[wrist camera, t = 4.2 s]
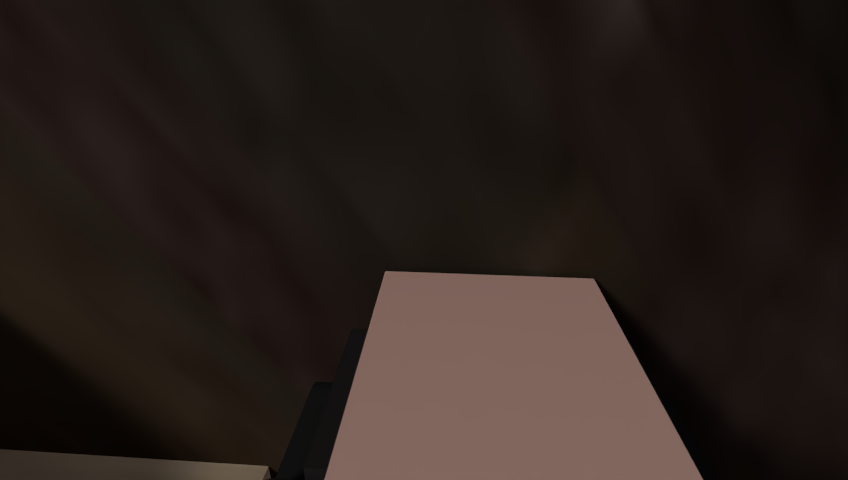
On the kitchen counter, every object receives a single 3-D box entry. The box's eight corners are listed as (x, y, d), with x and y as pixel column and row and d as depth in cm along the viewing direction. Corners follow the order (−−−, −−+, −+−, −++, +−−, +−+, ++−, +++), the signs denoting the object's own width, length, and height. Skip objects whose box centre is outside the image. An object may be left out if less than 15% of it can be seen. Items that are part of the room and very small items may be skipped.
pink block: (385, 271, 11) (319, 495, 6) (593, 278, 11) (725, 521, 6) (390, 423, 13) (345, 693, 8) (566, 433, 13) (642, 719, 8)
